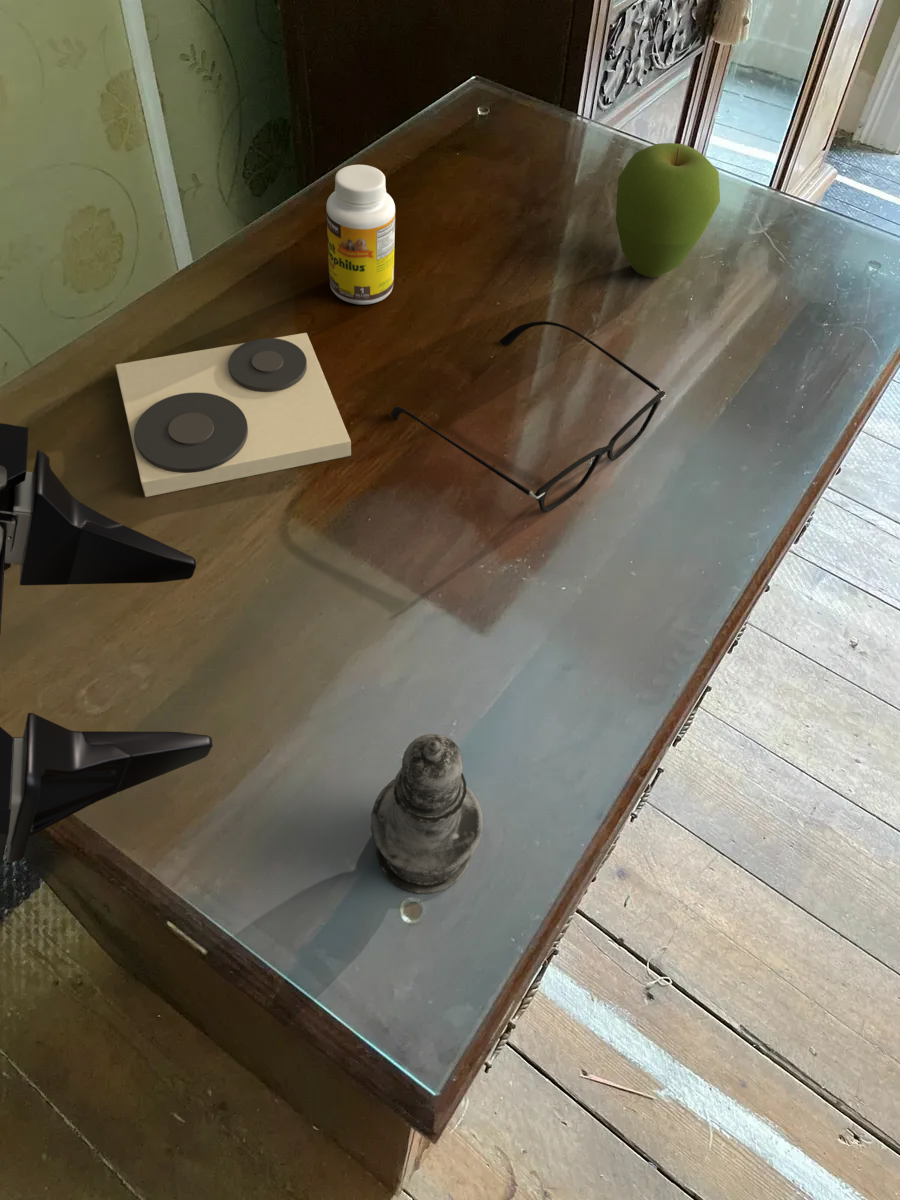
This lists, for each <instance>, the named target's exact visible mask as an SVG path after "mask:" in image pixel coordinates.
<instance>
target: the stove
mask: <svg viewBox="0 0 900 1200" xmlns="http://www.w3.org/2000/svg"><path fill="white" fill-rule="evenodd" d="M114 365H115V370H116V374H117V375H116V376H117V380H118V384H119V388H120V389H119V390H120V393H121V397H122V403H123V406H124V411H125V415H126V420H127V424H128V425H127V426H128V429H129V434H130V438H131V442H132V447H133V452H134V456H135V461H136V465H137V469H138V470H137V471H138V474H139V480H140V484H141V487H142V491H143V494H144V497H145V498H148V497H153V496H158V495H164V494H167V493H168V494H169V493H172V492H173V493H174V492H177V491H178V492H179V491H181V490H182V491H184V490H187V489H193V488H198V487H203V486H208V485H214V484H217V483H222V482H228V481H233V480H238V479H243V478H247V477H252V476H257V475H262V474H267V473H272V472H277V471H281V470H282V471H283V470H287V469H292V468H297V467H302V466H306V465H312V464H317V463H321V462H327V461H331V460H337V459H341V458H347V457H351V456H352V441H351V438H350V435H349V433H348V431H347V428H346V426H345V423H344V421H343V419H342V415H341V414H340V411H339V409H338V406H337V404H336V401H335V398H334V397H333V394H332V392H331V391H332V390H331V389H330V387H329V384H328V382H327V380H326V379H327V378H326V377H325V374H324V371H323V370H322V366H321V364H320V362H319V360H318V357H317V355H316V352H315V350H314V347H313V345H312V343H311V340H310V338H309V335H308V333H307V332H302V333H297V334H290V335H284V336H278V337H263V338H257V339H252V340H249V341H247V342H242V343H236V344H231V345H224V346H218V347H212V348H206V349H200V350H193V351H189V352H188V351H187V352H183V353H176V354H171V355H165V356H158V357H152V358H147V359H140V360H135V361H129V362H128V361H127V362H123V363H116V364H114Z"/></svg>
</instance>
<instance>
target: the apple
mask: <svg viewBox="0 0 900 1200" xmlns="http://www.w3.org/2000/svg"><path fill="white" fill-rule="evenodd" d="M616 188H617V190H616V191H617V194H616V209H615V222H616V228H617V232H618V238H619V243H620V248H621V252H622V253H623V255H624V257H625V259H626V260H627V261H628V263H629V264H630V267H632V269H633V270H634V271H635V272H636V273H638V274H639V275H642V276H644V277H646V278H652V279H655V278H659V277H661V276H664V275H666V274H668V273H669V272H671V271H673V270H674V269H676V268H679V267H680V266H681V264H682V263H683V262H684V260H686V258H687V256H688V255H689V253H690V252H691V251H692V249H693V248H694V247H695V245H696V244H697V242H698V241H699V240H700V238H701V237H702V236H703V234H704V233H705V231H706V230H707V228H708V226H709V224H710V222H711V220H712V218H713V216H714V214H715V212H716V211H717V208H718V207H719V204H720V203H721V189H720V188H721V187H720V173H719V170H718V169H717V168H716V166H714V165H713V163H711V161H710V160H709V159H707V157H706V156H705V155H704V154H703V153H701V152H700V151H698V150H697V149H696V148H693V147H691V146H688V145H686V144H684V143H675V142H662V143H655V144H653V145H650V146H647V147H645V148H643V149H640V150H639V151H636V152H635V153H634V154H633V155H632V156H631V157H630V158H629V160H628V162H627V163H626V165H625V166H624V167H623V170H622V171H621V173H620V174H619V175H618V177H617V187H616Z"/></svg>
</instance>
